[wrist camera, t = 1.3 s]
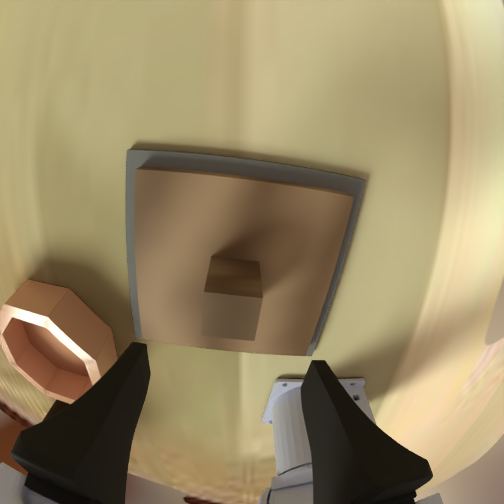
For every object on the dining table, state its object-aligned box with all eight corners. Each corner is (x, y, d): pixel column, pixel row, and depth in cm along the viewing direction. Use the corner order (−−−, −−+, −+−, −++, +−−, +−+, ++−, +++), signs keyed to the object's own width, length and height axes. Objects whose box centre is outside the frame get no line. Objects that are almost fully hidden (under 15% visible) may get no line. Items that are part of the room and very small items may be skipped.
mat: (363, 179, 18) (365, 180, 17) (310, 352, 24) (311, 356, 24) (129, 149, 16) (127, 149, 16) (136, 334, 23) (135, 337, 22)
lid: (348, 192, 18) (381, 219, 13) (303, 347, 23) (314, 394, 19) (140, 166, 16) (106, 185, 12) (145, 331, 22) (128, 376, 17)
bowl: (105, 295, 21) (86, 326, 17) (125, 388, 26) (115, 417, 23) (4, 273, 20) (-20, 295, 16) (36, 362, 25) (22, 385, 22)
